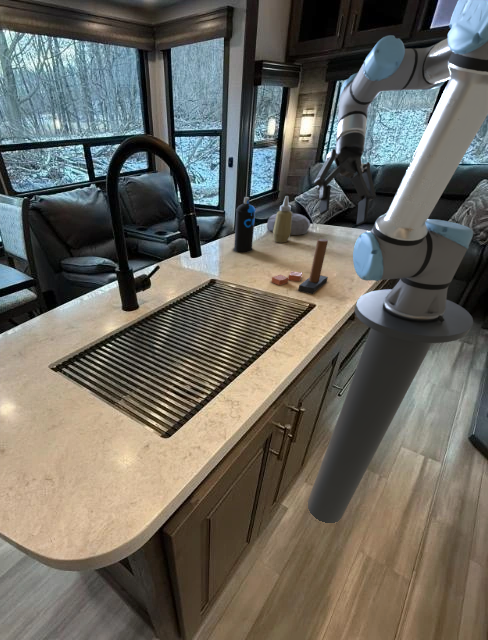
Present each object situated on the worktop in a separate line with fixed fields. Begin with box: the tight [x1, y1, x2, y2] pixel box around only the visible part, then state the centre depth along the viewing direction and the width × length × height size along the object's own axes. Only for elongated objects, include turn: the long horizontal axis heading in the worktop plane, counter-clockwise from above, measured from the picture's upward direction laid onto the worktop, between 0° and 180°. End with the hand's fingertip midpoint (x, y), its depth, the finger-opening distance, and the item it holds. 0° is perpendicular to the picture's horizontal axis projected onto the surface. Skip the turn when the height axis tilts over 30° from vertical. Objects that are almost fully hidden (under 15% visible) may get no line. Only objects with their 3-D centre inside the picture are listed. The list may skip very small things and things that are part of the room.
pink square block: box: [287, 270, 303, 282], centre depth 119 cm, size 4×4×2 cm
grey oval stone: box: [266, 212, 311, 236], centre depth 162 cm, size 15×8×20 cm
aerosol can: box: [233, 196, 257, 254], centre depth 140 cm, size 8×8×20 cm
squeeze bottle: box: [272, 195, 293, 244], centre depth 148 cm, size 8×8×18 cm
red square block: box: [271, 274, 289, 286], centre depth 117 cm, size 4×4×2 cm
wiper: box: [298, 238, 329, 295], centre depth 109 cm, size 5×12×15 cm, turn 141°
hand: (343, 217), depth 95 cm, fingers open, 13 cm apart
